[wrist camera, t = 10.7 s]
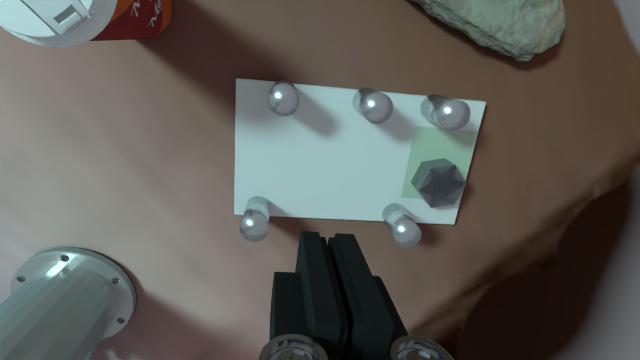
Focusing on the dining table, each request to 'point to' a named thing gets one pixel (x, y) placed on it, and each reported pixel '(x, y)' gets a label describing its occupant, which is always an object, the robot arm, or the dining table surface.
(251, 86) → the board
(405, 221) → the spacers
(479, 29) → the elongated rock
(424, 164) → the grey faceted hexagonal block
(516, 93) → the dining table surface
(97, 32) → the paper cup
